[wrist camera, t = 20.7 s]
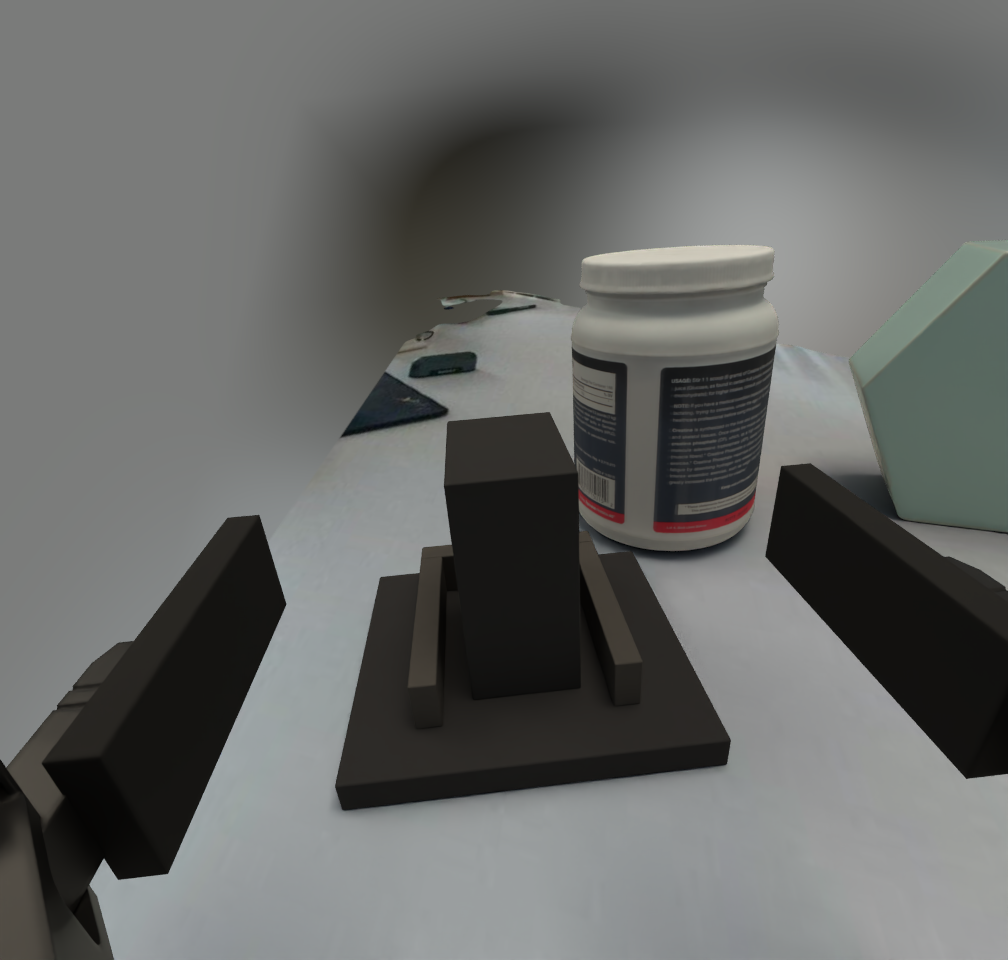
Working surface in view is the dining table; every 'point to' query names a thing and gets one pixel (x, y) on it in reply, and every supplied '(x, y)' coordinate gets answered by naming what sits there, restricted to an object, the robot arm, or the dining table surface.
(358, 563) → the dining table surface
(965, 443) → the green hexagonal block
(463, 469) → the tall dark brick
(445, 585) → the base pad
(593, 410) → the supplement tub
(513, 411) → the dining table surface
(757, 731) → the dining table surface
